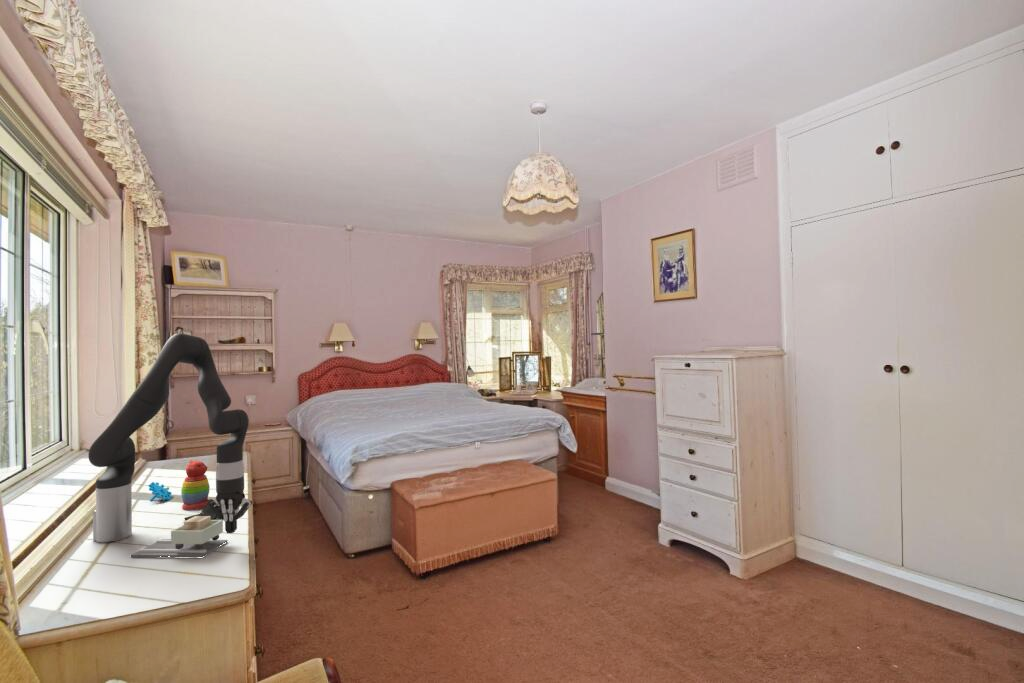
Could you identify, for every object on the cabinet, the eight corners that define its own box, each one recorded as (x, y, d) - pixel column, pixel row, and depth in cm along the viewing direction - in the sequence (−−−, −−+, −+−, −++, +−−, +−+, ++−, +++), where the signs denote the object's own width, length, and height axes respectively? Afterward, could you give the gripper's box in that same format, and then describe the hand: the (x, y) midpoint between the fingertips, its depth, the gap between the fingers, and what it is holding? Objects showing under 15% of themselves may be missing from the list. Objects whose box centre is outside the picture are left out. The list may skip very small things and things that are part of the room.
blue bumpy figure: (163, 499, 199) (146, 482, 200) (151, 511, 198) (134, 493, 199) (179, 495, 210) (162, 479, 211) (168, 506, 209) (151, 489, 210)
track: (130, 557, 148) (130, 552, 148) (161, 541, 160) (161, 537, 160) (201, 558, 146) (201, 553, 146) (227, 542, 158) (227, 537, 158)
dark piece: (178, 517, 178) (197, 491, 183) (193, 524, 183) (211, 498, 189) (198, 526, 173) (217, 499, 178) (213, 533, 178) (231, 507, 184)
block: (183, 538, 150) (183, 521, 150) (195, 532, 155) (195, 516, 155) (199, 538, 150) (199, 521, 150) (210, 532, 155) (210, 516, 155)
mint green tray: (171, 550, 148) (171, 531, 148) (194, 538, 158) (193, 519, 158) (201, 550, 147) (201, 531, 147) (222, 538, 157) (222, 520, 157)
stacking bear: (217, 505, 197) (216, 460, 197) (189, 512, 188) (189, 465, 188) (203, 500, 203) (203, 457, 203) (175, 507, 194) (175, 462, 194)
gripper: (258, 472, 155) (258, 528, 155) (217, 472, 156) (218, 527, 156) (243, 478, 148) (244, 537, 148) (201, 479, 149) (201, 537, 149)
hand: (231, 532), depth 152 cm, fingers closed
